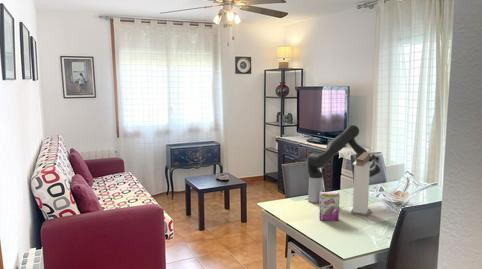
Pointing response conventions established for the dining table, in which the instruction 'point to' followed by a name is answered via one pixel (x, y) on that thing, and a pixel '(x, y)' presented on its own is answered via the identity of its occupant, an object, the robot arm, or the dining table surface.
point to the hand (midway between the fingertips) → (365, 155)
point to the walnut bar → (362, 159)
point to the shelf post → (361, 189)
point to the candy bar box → (329, 206)
